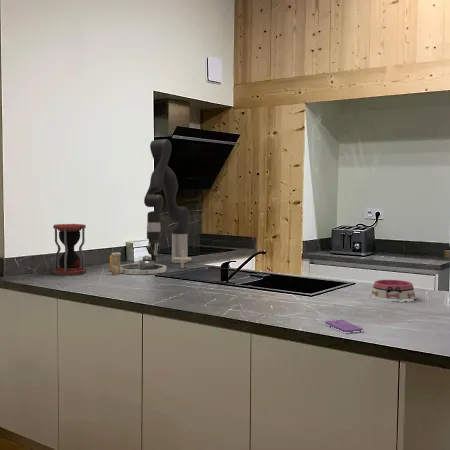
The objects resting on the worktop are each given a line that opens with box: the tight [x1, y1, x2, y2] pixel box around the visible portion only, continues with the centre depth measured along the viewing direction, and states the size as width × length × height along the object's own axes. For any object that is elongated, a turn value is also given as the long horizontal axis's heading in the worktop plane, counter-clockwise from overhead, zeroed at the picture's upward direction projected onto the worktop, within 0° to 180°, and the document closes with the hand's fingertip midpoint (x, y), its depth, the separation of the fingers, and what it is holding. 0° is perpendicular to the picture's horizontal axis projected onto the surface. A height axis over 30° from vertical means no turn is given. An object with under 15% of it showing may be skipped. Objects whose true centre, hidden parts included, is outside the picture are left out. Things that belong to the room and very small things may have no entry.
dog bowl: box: [370, 279, 416, 300], centre depth 241 cm, size 18×19×7 cm
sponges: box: [324, 318, 364, 332], centre depth 188 cm, size 7×13×2 cm, turn 21°
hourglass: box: [52, 223, 87, 276], centre depth 296 cm, size 16×16×25 cm
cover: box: [138, 255, 155, 270], centre depth 310 cm, size 8×8×8 cm
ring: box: [109, 254, 167, 275], centre depth 305 cm, size 26×30×8 cm
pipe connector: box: [173, 250, 192, 269], centre depth 318 cm, size 10×10×10 cm
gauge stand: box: [111, 252, 122, 276], centre depth 293 cm, size 4×4×11 cm
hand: (153, 261), depth 317 cm, fingers closed
